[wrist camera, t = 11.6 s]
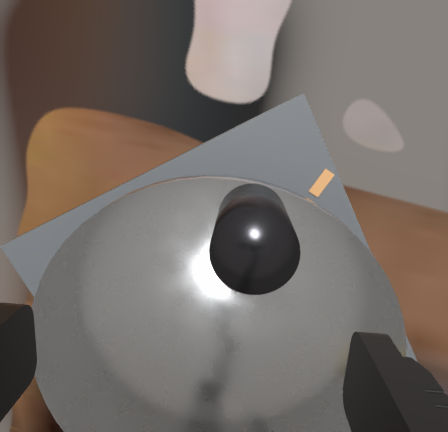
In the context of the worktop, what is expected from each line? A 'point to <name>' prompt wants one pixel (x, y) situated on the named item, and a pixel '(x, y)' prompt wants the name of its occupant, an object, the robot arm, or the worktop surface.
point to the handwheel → (207, 312)
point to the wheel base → (217, 165)
